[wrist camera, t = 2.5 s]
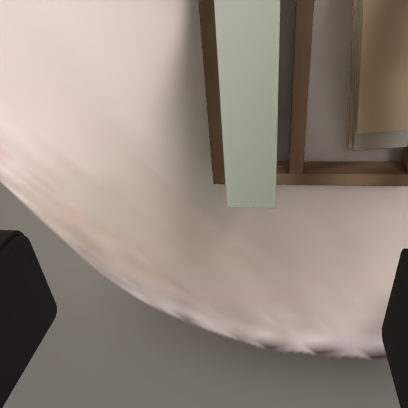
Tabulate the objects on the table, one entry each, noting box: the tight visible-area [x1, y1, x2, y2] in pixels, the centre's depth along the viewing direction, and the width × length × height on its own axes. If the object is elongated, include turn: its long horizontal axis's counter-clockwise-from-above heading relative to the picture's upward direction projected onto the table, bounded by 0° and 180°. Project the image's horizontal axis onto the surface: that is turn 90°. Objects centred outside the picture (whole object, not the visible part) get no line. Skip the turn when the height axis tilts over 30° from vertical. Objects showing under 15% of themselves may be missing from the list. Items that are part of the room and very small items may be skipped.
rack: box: [199, 0, 408, 186], centre depth 26 cm, size 16×19×2 cm
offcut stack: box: [348, 0, 408, 151], centre depth 25 cm, size 4×14×3 cm, turn 10°
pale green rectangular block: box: [214, 0, 280, 208], centre depth 24 cm, size 3×14×9 cm, turn 5°
